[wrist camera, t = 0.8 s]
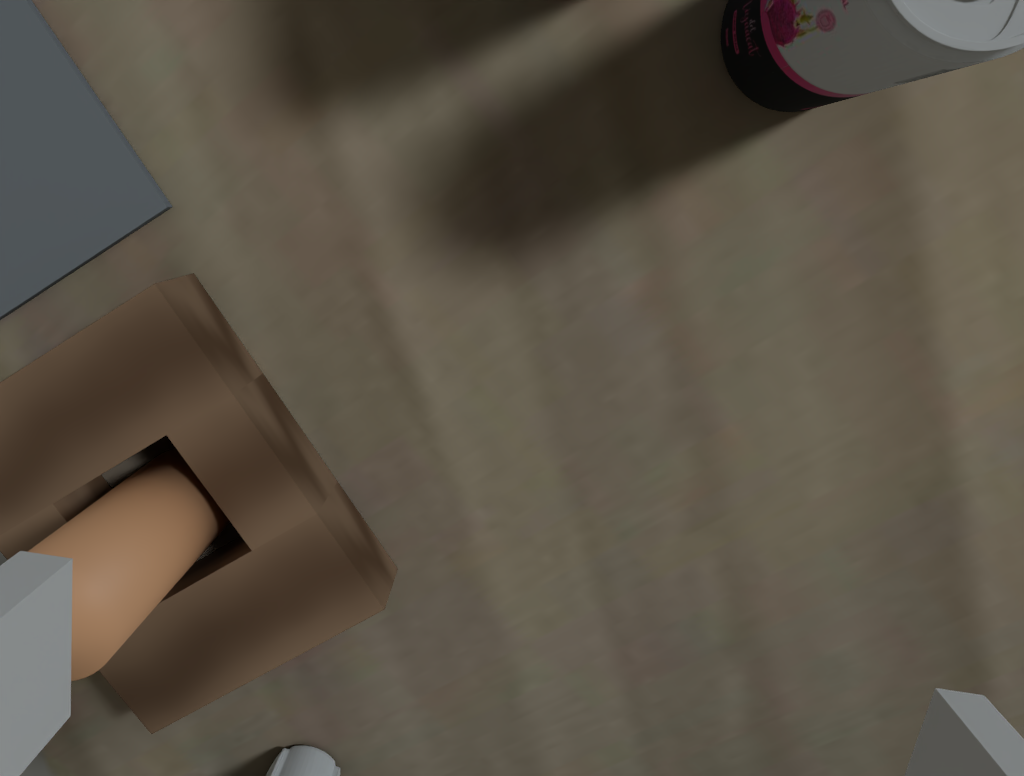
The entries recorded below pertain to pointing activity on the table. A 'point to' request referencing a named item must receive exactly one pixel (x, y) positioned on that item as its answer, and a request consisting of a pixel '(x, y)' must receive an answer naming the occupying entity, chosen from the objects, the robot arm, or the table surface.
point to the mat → (58, 164)
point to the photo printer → (303, 763)
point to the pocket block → (224, 473)
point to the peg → (131, 553)
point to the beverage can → (858, 45)
